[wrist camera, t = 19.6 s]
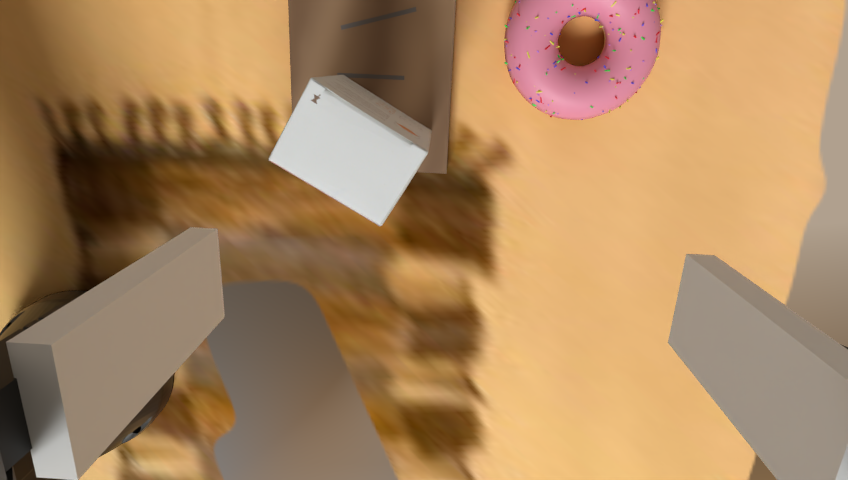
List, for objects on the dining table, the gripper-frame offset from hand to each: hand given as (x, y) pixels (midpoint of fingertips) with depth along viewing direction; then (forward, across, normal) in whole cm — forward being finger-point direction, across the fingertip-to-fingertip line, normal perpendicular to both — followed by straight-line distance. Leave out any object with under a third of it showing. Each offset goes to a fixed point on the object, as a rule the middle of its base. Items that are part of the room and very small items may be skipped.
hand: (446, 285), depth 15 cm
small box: (+27, -6, +1) cm, 28 cm away
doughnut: (+29, +9, +8) cm, 31 cm away
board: (+29, -6, +8) cm, 30 cm away
